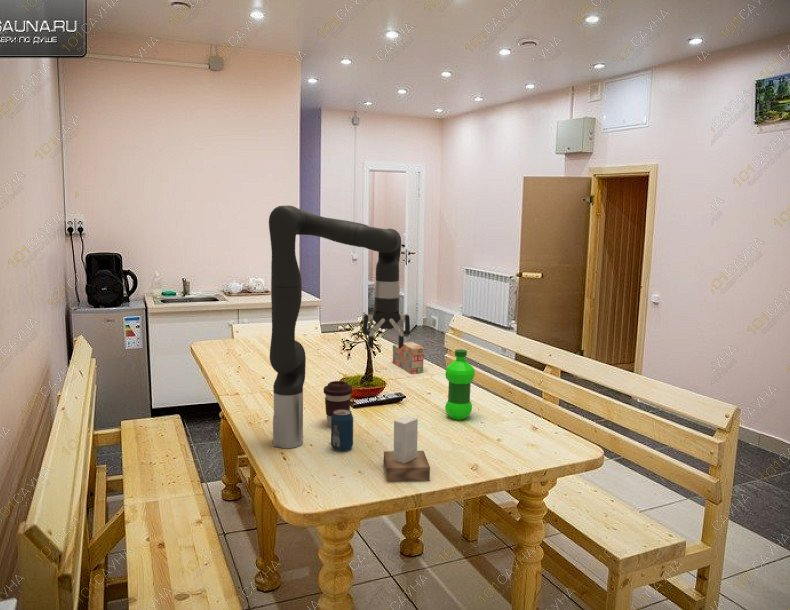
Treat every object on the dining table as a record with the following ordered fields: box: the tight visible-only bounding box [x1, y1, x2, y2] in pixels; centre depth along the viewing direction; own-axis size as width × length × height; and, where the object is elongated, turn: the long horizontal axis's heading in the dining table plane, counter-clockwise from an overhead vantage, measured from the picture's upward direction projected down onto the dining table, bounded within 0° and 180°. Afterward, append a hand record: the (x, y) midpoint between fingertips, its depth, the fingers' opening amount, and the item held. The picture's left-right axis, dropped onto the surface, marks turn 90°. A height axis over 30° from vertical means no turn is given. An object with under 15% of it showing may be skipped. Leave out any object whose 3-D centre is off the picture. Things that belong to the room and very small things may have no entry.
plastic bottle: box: [444, 349, 476, 421], centre depth 229 cm, size 10×10×25 cm
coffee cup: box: [323, 380, 353, 428], centre depth 219 cm, size 10×10×15 cm
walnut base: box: [382, 450, 431, 483], centre depth 183 cm, size 12×12×4 cm
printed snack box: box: [392, 341, 425, 375], centre depth 297 cm, size 21×6×12 cm, turn 24°
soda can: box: [330, 409, 354, 453], centre depth 199 cm, size 7×7×12 cm
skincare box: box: [393, 415, 419, 464], centre depth 181 cm, size 6×4×12 cm
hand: (385, 348), depth 193 cm, fingers open, 8 cm apart
